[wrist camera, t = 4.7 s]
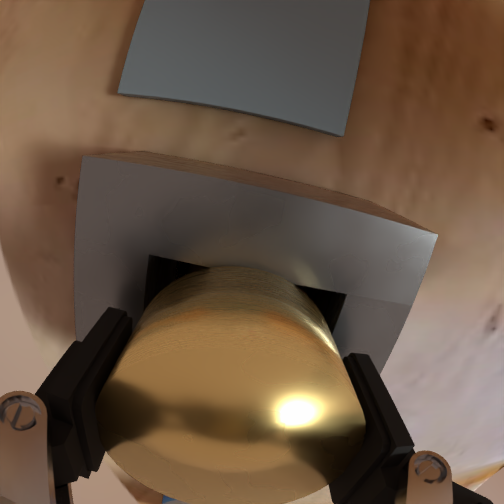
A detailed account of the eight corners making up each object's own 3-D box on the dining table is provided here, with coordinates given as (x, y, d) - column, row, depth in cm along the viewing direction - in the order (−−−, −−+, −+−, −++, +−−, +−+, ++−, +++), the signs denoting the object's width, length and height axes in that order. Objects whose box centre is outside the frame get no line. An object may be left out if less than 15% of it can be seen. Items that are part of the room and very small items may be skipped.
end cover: (322, 242, 14) (413, 368, 6) (285, 358, 16) (310, 512, 8) (179, 211, 14) (84, 311, 5) (162, 335, 16) (107, 484, 7)
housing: (372, 202, 15) (438, 234, 9) (308, 383, 18) (327, 461, 12) (143, 151, 14) (82, 155, 8) (124, 349, 17) (87, 421, 11)
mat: (369, -29, 11) (375, -37, 10) (337, 137, 14) (343, 136, 13) (180, -65, 10) (177, -75, 9) (125, 96, 13) (117, 93, 12)
